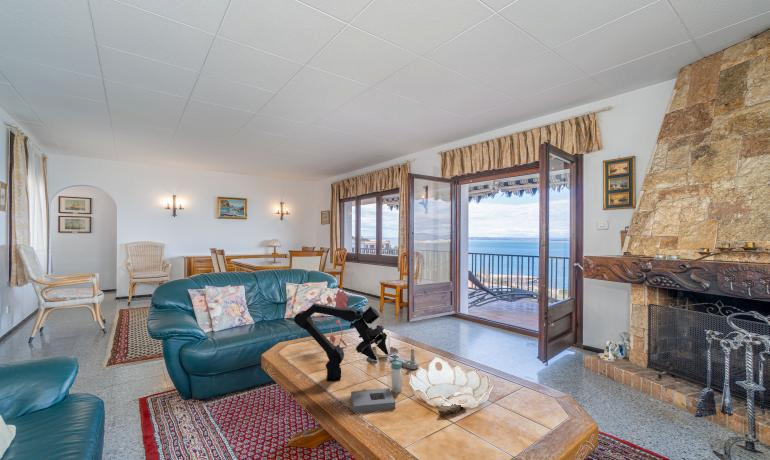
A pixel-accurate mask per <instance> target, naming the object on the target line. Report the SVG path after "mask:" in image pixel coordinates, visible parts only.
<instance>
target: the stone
mask: <svg viewBox="0 0 770 460" xmlns="http://www.w3.org/2000/svg"><path fill="white" fill-rule="evenodd" d="M451 396H454V395H453V394H452V395H450V396H447V397H446V398H445V400H446V399H449V398H450V397H451ZM461 409H462V408H461V405H456V404H454V405H453V404H452V405H451V406H443V405H439V406H438V410H437V411H438V414H439V415H440V416H441V417H445V416H448V415H449V414H450V413H455V414H456V413H457V412H460V410H461Z"/></svg>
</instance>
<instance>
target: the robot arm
mask: <svg viewBox="0 0 770 460" xmlns="http://www.w3.org/2000/svg"><path fill="white" fill-rule="evenodd" d="M313 314H320V315H326V316H332V317H336V318H337V317H338V318H339V317H340V318H339V319H342V320H343V321H346V322H348V323H349V324H350V325H349V328H350V329H355V330H356V331H357V333H358V338H359V339H362V341H360V343H359V344H357V346H356V347H355V350H356V352H357V354H360V355H362V354H363V355H365V356H366V357H368V358H369V359H371V360H373V361H376V362H377V361H378V359H377V356H376V354H375V353H374V351H373V349H372V345H374V344H376V347H377V348H379V350H380V351H382V352H383V354H385V355H386V356H388V355H389V351H388V348H387V344H386V341H387V337H388V335H387V333H386V332H384V328H385V327H384V326H383V325H382V324H378V325H376V328H373V327H369V324H370V325H371V324H373V323H374V322H375V321H376V320H377V319H379V318H380V316H381V315H380V313H379V312H378V311H377V309H375V308H374V307H372V306H371V305H370V306H369V307H368V308H367V309H365V311H363V310H362V311H361V310H358V309H357V308H355V307H348V308H347V307H345V308H342V307H341V308H338V306H337V307H336V306H331V305H327V304H326V305H325V304H320V303H316V302H315V303H313V304H312V305H311V306H310V307H308V308H307V309H305V310H301V311H299V312H298V313H296V314H295V315H294V318H293V319H294V320H293V321H294V324H296V325H297V326H298V327H299V328H301V329H303V330H305V331H307V332H308V334H309V335H310V336H311V337H312V338H313V339H314V341H316V343H317V344H318V345H319V346H320V347H321V348H322V349H323V351H324V352H325V355H326V356H327V358H328V361H327V362H326V364H325V368H326V382H335V381H336V382H338V381H341V378H342V368H341V365H340V364H341V363H342V362H343V360H344V358H345V351H343V350H344V349H343V348H341V347H340V345H339V344H336V345H334V344H333V343H332V341H331V342H330V339H328V338H327V336H325V334H324V333H323V332H322V331H321V330H320V328H318V326H316V325H315V323H314V321H313V319H312V317H311V316H313Z"/></svg>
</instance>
